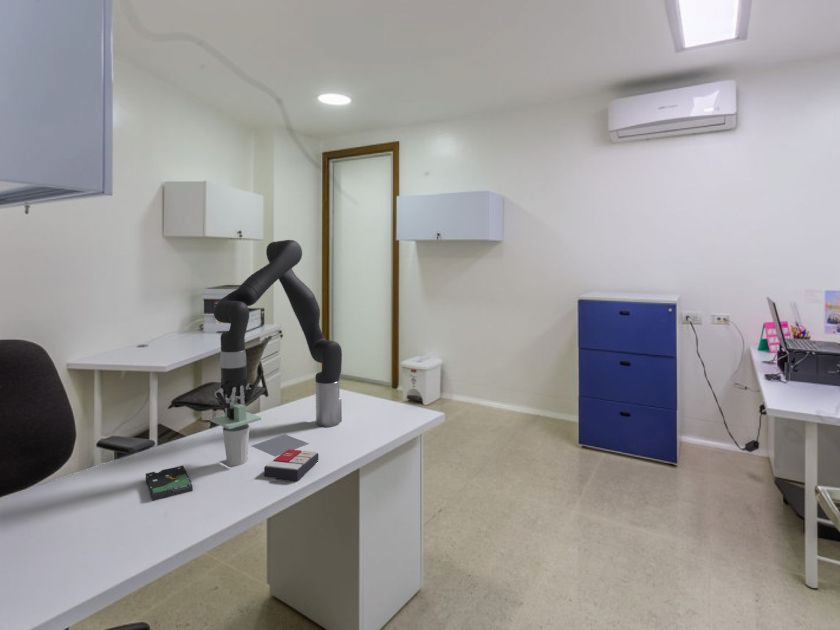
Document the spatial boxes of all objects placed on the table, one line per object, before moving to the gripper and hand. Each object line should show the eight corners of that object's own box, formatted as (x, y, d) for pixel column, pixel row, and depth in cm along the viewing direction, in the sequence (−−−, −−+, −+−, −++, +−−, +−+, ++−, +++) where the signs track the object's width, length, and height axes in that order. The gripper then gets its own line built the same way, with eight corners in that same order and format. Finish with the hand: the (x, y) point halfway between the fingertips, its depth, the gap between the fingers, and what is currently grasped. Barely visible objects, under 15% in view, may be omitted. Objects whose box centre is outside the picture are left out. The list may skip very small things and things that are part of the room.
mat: (284, 435, 178) (284, 434, 178) (309, 445, 169) (309, 443, 169) (251, 447, 167) (251, 445, 167) (275, 457, 159) (275, 456, 159)
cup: (218, 465, 153) (216, 428, 151) (238, 456, 160) (237, 421, 158) (236, 470, 149) (234, 433, 148) (256, 460, 156) (254, 425, 155)
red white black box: (319, 451, 156) (297, 468, 142) (318, 463, 157) (297, 482, 142) (287, 447, 159) (263, 464, 144) (287, 460, 159) (263, 478, 144)
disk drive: (145, 482, 142) (152, 503, 130) (144, 473, 142) (151, 493, 130) (183, 473, 148) (193, 492, 136) (183, 464, 148) (193, 482, 136)
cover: (241, 412, 160) (241, 396, 160) (261, 419, 154) (260, 403, 153) (210, 421, 152) (209, 404, 151) (229, 429, 145) (228, 412, 144)
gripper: (246, 359, 158) (248, 410, 160) (206, 366, 147) (208, 421, 150) (260, 362, 154) (261, 415, 156) (219, 370, 143) (221, 426, 145)
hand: (235, 417), depth 153 cm, fingers closed on cover, 2 cm apart
